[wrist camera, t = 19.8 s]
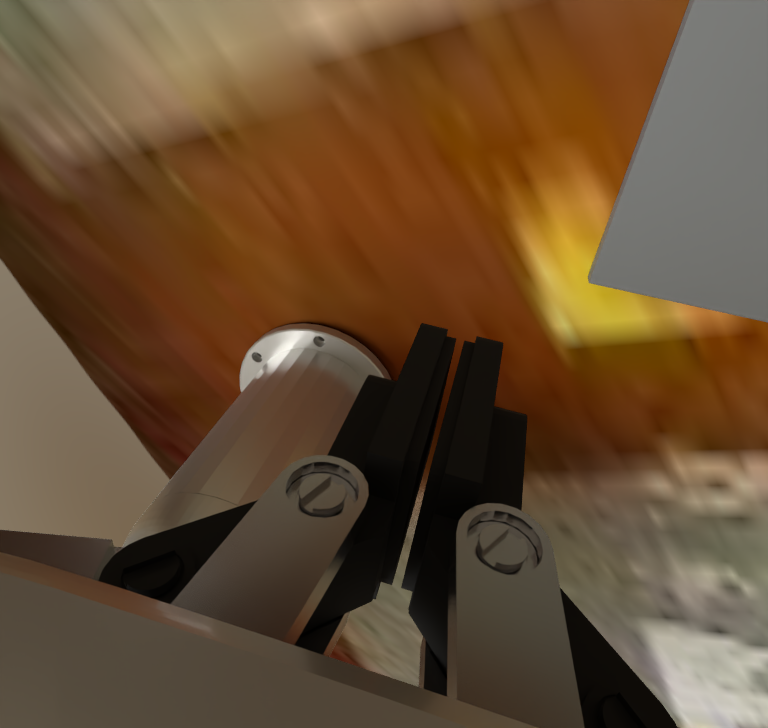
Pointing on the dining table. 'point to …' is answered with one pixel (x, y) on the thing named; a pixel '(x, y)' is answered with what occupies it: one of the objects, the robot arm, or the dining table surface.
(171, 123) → the dining table surface
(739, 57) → the floor panel
